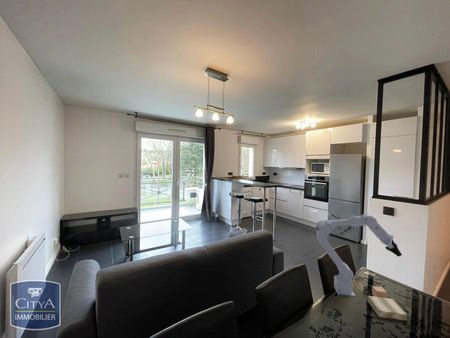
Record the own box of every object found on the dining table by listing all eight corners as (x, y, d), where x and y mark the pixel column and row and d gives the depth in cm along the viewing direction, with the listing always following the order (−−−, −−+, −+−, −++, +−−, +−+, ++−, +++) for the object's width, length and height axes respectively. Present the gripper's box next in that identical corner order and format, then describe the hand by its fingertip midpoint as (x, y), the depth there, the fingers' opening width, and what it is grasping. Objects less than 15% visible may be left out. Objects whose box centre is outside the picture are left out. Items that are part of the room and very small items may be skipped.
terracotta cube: (376, 299, 112) (376, 291, 112) (372, 294, 117) (372, 285, 117) (386, 301, 110) (386, 292, 111) (382, 295, 115) (381, 287, 115)
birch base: (379, 316, 99) (379, 310, 99) (367, 301, 111) (367, 295, 111) (407, 320, 96) (407, 314, 96) (392, 304, 108) (392, 298, 108)
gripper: (390, 235, 107) (409, 256, 104) (383, 223, 119) (400, 242, 117) (377, 241, 110) (396, 261, 108) (372, 229, 123) (388, 247, 120)
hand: (397, 251), depth 113 cm, fingers open, 7 cm apart
